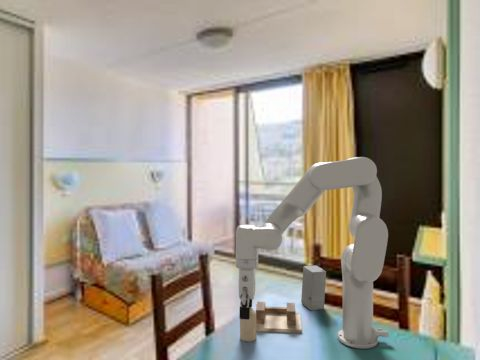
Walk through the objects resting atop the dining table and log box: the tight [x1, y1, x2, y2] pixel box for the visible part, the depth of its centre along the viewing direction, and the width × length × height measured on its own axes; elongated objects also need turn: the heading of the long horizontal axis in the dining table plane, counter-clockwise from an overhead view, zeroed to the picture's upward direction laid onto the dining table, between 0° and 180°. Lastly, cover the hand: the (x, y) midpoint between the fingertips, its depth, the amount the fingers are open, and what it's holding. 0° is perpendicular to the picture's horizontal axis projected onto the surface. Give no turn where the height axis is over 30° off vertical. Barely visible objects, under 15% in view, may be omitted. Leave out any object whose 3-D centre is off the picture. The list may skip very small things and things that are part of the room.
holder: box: [254, 301, 303, 334], centre depth 132 cm, size 18×14×6 cm
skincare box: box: [300, 264, 327, 311], centre depth 147 cm, size 8×7×16 cm
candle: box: [239, 307, 258, 342], centre depth 121 cm, size 6×6×10 cm
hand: (246, 312), depth 121 cm, fingers open, 9 cm apart
